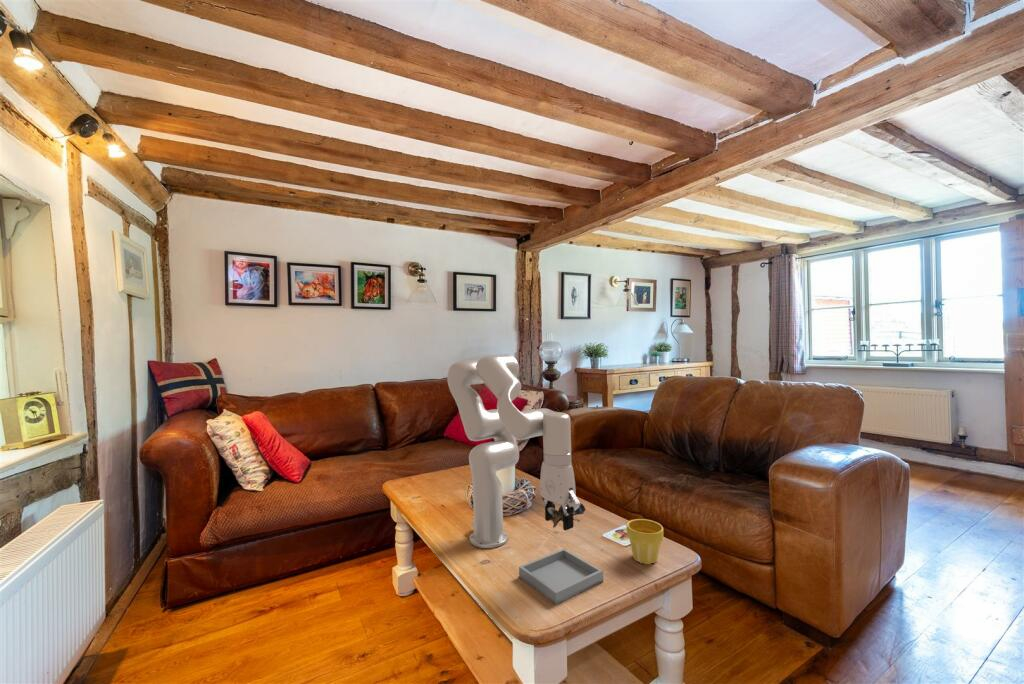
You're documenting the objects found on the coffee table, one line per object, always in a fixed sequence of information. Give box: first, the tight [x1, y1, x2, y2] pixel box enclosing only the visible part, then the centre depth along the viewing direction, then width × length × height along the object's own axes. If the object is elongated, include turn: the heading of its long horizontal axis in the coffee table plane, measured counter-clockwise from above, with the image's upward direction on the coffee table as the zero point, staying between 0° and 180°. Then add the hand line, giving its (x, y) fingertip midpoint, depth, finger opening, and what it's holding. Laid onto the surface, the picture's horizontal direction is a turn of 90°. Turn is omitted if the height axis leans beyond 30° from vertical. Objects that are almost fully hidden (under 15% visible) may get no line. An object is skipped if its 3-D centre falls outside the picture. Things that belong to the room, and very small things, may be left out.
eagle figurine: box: [548, 502, 586, 529], centre depth 120 cm, size 8×7×9 cm
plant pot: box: [626, 518, 664, 565], centre depth 128 cm, size 10×10×10 cm
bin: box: [518, 548, 604, 606], centre depth 119 cm, size 16×17×3 cm
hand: (559, 523), depth 118 cm, fingers closed on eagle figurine, 6 cm apart
